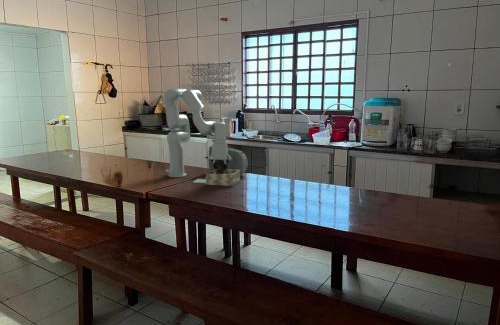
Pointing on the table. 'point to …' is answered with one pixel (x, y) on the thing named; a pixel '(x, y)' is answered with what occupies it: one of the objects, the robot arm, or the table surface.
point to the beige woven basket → (223, 178)
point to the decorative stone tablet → (232, 160)
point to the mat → (200, 181)
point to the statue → (220, 167)
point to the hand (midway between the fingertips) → (220, 169)
